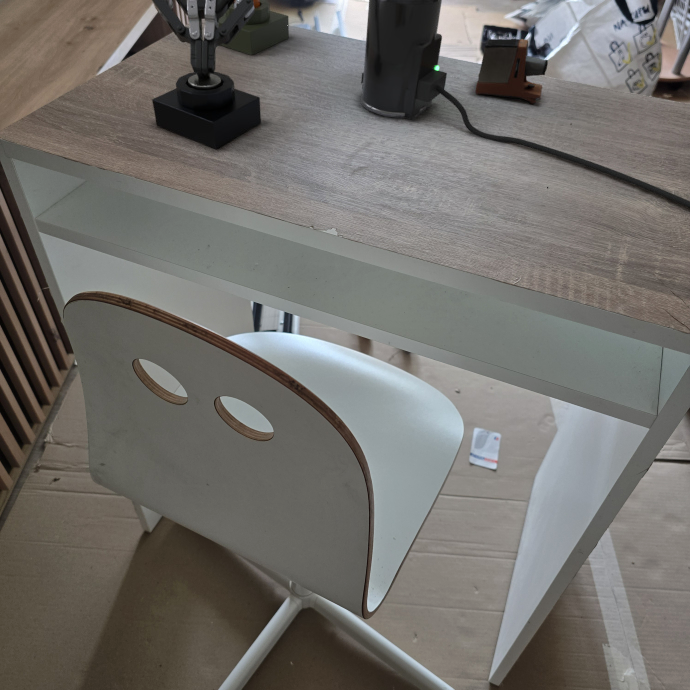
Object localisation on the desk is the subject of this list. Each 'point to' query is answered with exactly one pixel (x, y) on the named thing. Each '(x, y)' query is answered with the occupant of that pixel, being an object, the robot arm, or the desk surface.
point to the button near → (204, 82)
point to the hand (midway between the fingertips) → (203, 74)
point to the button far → (256, 3)
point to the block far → (259, 30)
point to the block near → (207, 111)
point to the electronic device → (509, 70)
